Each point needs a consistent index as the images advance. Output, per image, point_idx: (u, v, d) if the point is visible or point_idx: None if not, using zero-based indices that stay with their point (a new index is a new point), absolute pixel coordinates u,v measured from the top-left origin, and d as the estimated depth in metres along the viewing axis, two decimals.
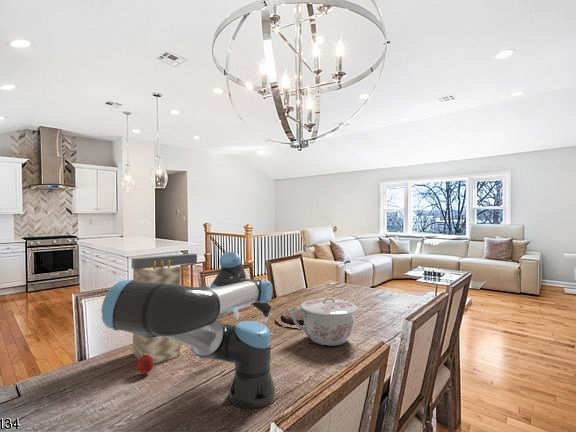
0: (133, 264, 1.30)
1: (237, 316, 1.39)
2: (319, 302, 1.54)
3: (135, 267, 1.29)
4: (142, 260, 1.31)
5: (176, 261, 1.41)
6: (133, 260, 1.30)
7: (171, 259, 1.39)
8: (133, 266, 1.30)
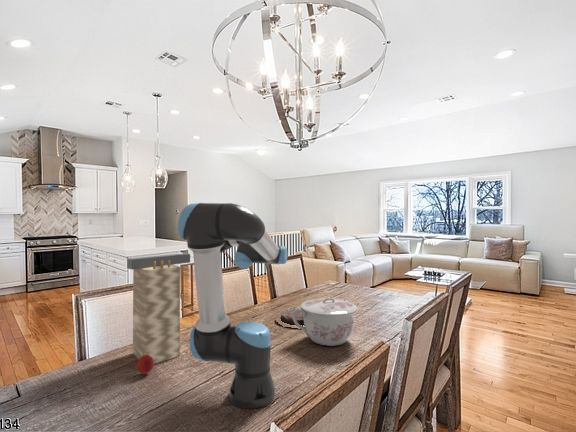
0: (130, 264, 1.29)
1: None
2: (319, 302, 1.54)
3: (132, 267, 1.28)
4: (139, 260, 1.30)
5: (170, 261, 1.41)
6: (130, 260, 1.29)
7: (166, 259, 1.40)
8: (130, 266, 1.29)
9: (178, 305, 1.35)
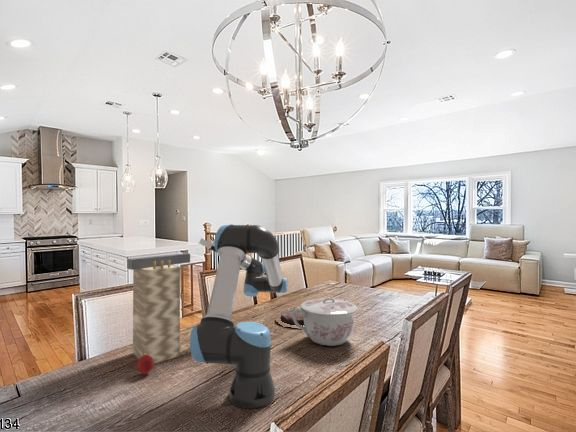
0: (130, 265, 1.29)
1: None
2: (319, 302, 1.54)
3: (132, 267, 1.28)
4: (139, 260, 1.30)
5: (170, 261, 1.41)
6: (130, 260, 1.29)
7: (166, 259, 1.40)
8: (130, 267, 1.29)
9: (178, 305, 1.35)
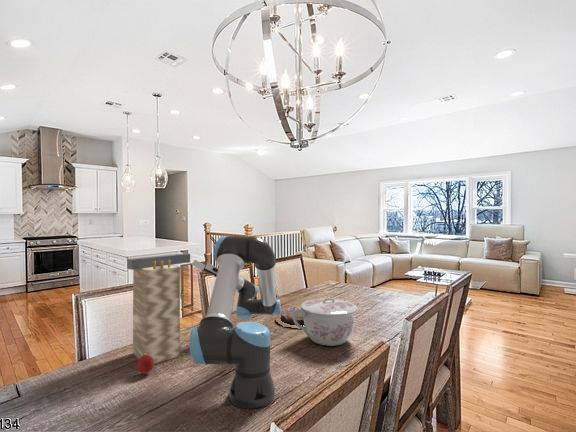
0: (130, 265, 1.29)
1: None
2: (319, 302, 1.54)
3: (132, 267, 1.28)
4: (139, 260, 1.30)
5: (170, 261, 1.41)
6: (130, 260, 1.29)
7: (166, 259, 1.40)
8: (130, 267, 1.29)
9: (178, 305, 1.35)
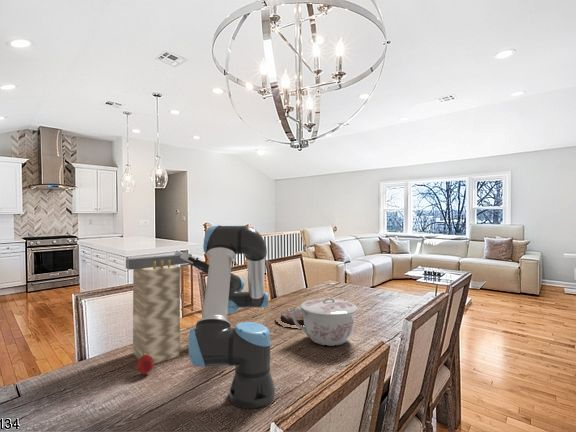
0: (127, 264, 1.29)
1: None
2: (319, 302, 1.54)
3: (130, 267, 1.28)
4: (137, 260, 1.30)
5: (170, 261, 1.40)
6: (127, 260, 1.29)
7: (166, 259, 1.39)
8: (127, 266, 1.29)
9: (178, 305, 1.35)
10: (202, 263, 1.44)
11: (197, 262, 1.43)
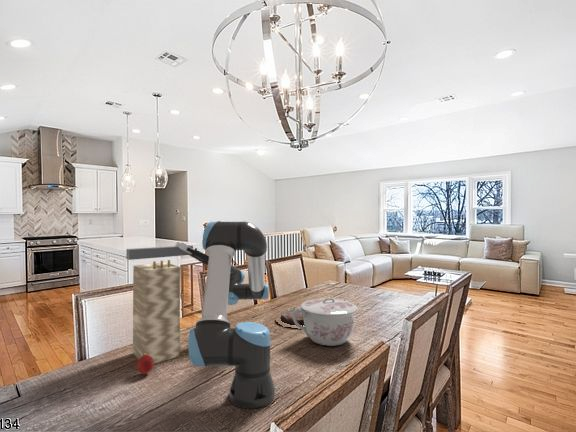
0: (128, 255, 1.29)
1: None
2: (319, 302, 1.54)
3: (130, 258, 1.28)
4: (137, 251, 1.30)
5: (171, 252, 1.39)
6: (128, 251, 1.29)
7: (167, 251, 1.38)
8: (128, 257, 1.29)
9: (178, 305, 1.35)
10: (201, 254, 1.45)
11: (196, 253, 1.44)
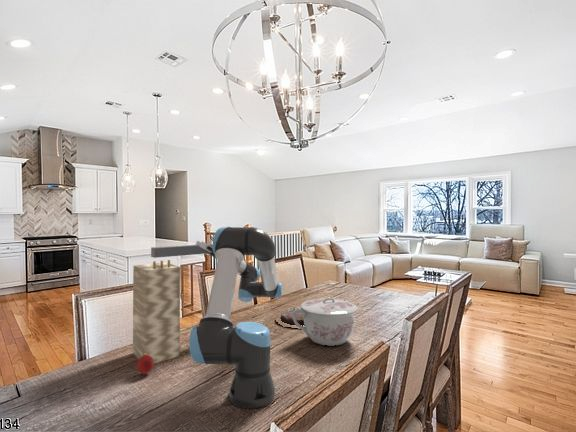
0: (153, 253, 1.35)
1: None
2: (319, 302, 1.54)
3: (155, 256, 1.35)
4: (161, 249, 1.36)
5: (192, 250, 1.46)
6: (153, 249, 1.35)
7: (188, 249, 1.44)
8: (153, 255, 1.35)
9: (178, 305, 1.35)
10: None
11: None
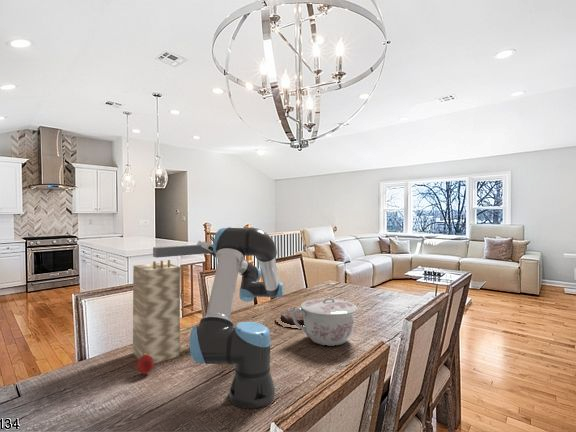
0: (155, 253, 1.36)
1: None
2: (319, 302, 1.54)
3: (157, 255, 1.35)
4: (163, 249, 1.37)
5: (194, 250, 1.46)
6: (155, 249, 1.36)
7: (190, 249, 1.45)
8: (155, 255, 1.36)
9: (178, 305, 1.35)
10: None
11: None
